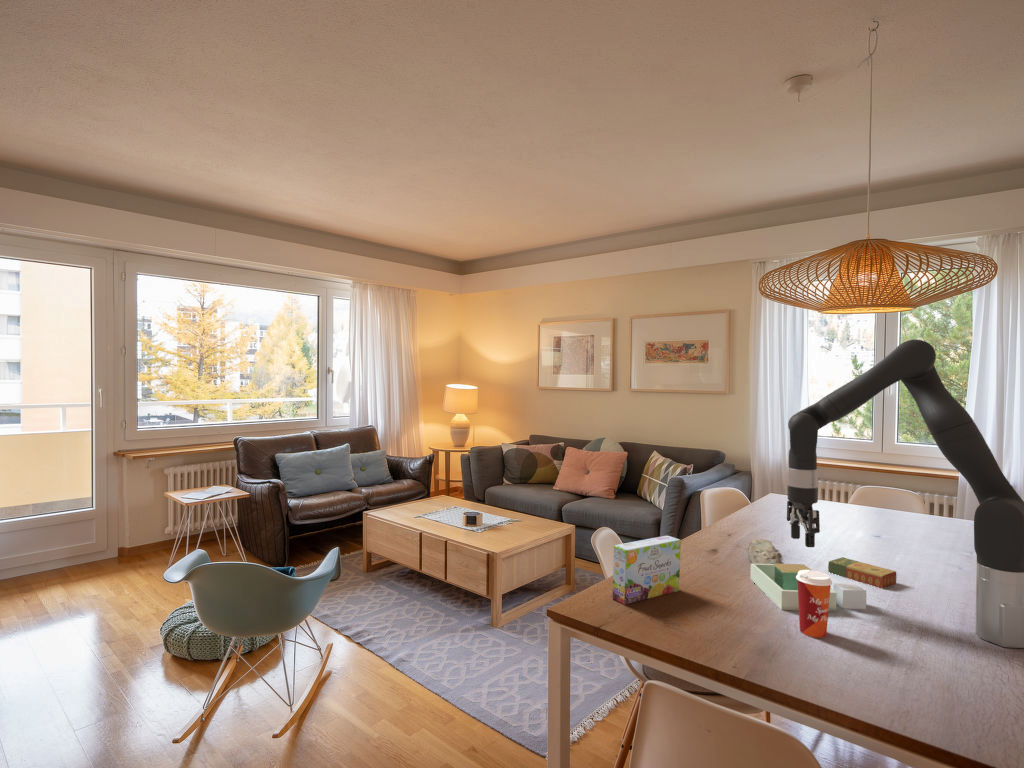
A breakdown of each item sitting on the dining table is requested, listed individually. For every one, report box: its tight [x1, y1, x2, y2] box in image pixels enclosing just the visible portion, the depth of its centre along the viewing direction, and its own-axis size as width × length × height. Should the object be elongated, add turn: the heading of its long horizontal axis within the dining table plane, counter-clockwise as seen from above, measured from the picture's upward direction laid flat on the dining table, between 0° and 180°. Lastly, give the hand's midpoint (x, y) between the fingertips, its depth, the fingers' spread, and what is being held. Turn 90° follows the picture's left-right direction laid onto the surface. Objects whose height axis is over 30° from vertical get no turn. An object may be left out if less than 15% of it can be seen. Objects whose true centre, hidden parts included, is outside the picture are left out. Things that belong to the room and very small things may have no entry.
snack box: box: [612, 535, 682, 606], centre depth 156 cm, size 21×6×15 cm, turn 122°
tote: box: [749, 563, 837, 613], centre depth 158 cm, size 22×14×5 cm, turn 177°
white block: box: [832, 582, 867, 610], centre depth 151 cm, size 5×6×5 cm
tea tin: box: [774, 563, 812, 590], centre depth 157 cm, size 6×8×7 cm
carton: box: [827, 557, 897, 589], centre depth 172 cm, size 8×16×4 cm, turn 30°
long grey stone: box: [747, 538, 783, 565], centre depth 189 cm, size 35×5×10 cm
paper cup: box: [796, 569, 833, 639], centre depth 134 cm, size 8×8×14 cm
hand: (802, 542), depth 156 cm, fingers open, 8 cm apart
